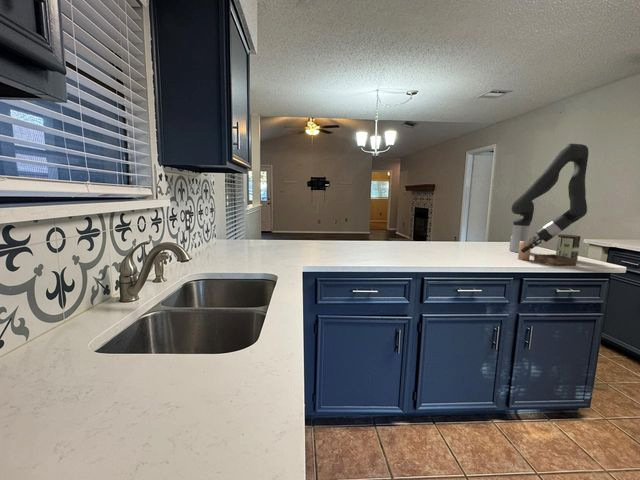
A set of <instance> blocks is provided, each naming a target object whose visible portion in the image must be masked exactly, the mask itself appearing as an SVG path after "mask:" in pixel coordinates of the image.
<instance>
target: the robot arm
mask: <svg viewBox="0 0 640 480" xmlns="http://www.w3.org/2000/svg"><path fill="white" fill-rule="evenodd" d="M588 161H589V147H588V146H587V145H585V144H582V143H567V144H566V145H565V146H563V147H562V148H561V149H560V150H559V152H558V153H557V155H556V156H555V157H554V159H552V161H551V163H549V165H548V166H547V167H546V168H545V170H543V172H542V173H541V174H540V175H538V177H537V179H535V181H533V182H532V184H531V185H530V186H529V187H528V188H527V190H525V191H524V192H523V193H522V195H520V196H518V198H517V199H516V200H515V201H514V202H513V203H512V205H511V212H512V213H513V214H515V215H519V217H518V218H516V219H515V220H513V223H512V231H511V236H510V239H509V251H510V252H513V253H514V252H515V253H518V252H519V243H520V241H527V242H529V244H528V245H527V246H526V247H524V248H523V249H521V251H522V252H523V253H525V252H526V251H528V250H529V249H531V250H533V249H534V248H536V247H537V246H538V245H540V244H541V243H542V241H544V242H545V243H547V242H549V241H550V240H552V239H553V238H555V237H556V236H558V235H560V233H561V232H562V231H564V230H565V229H567V228H569V226H571V225H572V224H574V223H576V222H577V221H579V220H580V219H582V218H584V217H585V216H586V215H587V213H588V204H587V198H586V194H587V193H586V192H587V191H586V190H587V189H586V174H587V169H588ZM570 162H571V163H572V162H573V167H574V168H573V173H572V174H571V178H570V180H569V181H568V182H569V183H568V186H567V189H568V199H569V209H568V210H567V211H566V212H564V213H563V214H561V215H559V216H557V217H556V218H554V219H553V220H552V221H550V222H548V223H546V224H545V225H543V226H542V227H541V228H539V229H538V230H536V231H535V233H536V235H534V236H533V237H531V238H530V230H531V229H530V228H531V223H532V221H533V218H534V217H533V216H534V212H535V205H534V204H535V203H534V200H536V199H537V198H539V197H542V196H544V194H547V193H548V192H549V191H550V190H551V189H552V188H553V187H554V186H555V185H556V184H557V183H558V181H559V177H560V172H561V171H562V169H563V168H564V167H565V166H566V165H567V164H568V163H570Z"/></svg>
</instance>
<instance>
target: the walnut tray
mask: <svg viewBox="0 0 640 480" xmlns="http://www.w3.org/2000/svg"><path fill="white" fill-rule="evenodd" d="M576 260H577V261H578V259H574V258H570V257H565V256H560V255H556V253H554V254H553V253H551V254H550V253H549V254H548V253H546V254H534V256H533V261H534V262H537V263H542V264H545V265H548V266H553V267H563V266H565V267H567V266H570V267H573V266H574V267H576V266H577V261H576Z"/></svg>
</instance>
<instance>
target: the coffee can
mask: <svg viewBox="0 0 640 480" xmlns="http://www.w3.org/2000/svg"><path fill="white" fill-rule="evenodd" d="M581 237H582V236H581V235H577V234H576V235H575V234H574V235H573V234H560V233H559V234H558V235H557V243H556V250H555V251H556V252H555V254H556V255H560V256H565V257H570V258H574V259H577V260H576V262H578V256H579V250H580V249H579V248H580V242H581Z"/></svg>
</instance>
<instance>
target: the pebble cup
mask: <svg viewBox="0 0 640 480" xmlns="http://www.w3.org/2000/svg"><path fill="white" fill-rule="evenodd" d="M528 244H529V242H527V241H520V243H519V252H517V253H518V254H517V259H518V260H521V261H530V256H531V250H532V249H529V250H528V251H526V252H525V253H523V252H522V251H521V249H523V248H524V247H526V246H527V245H528Z"/></svg>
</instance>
